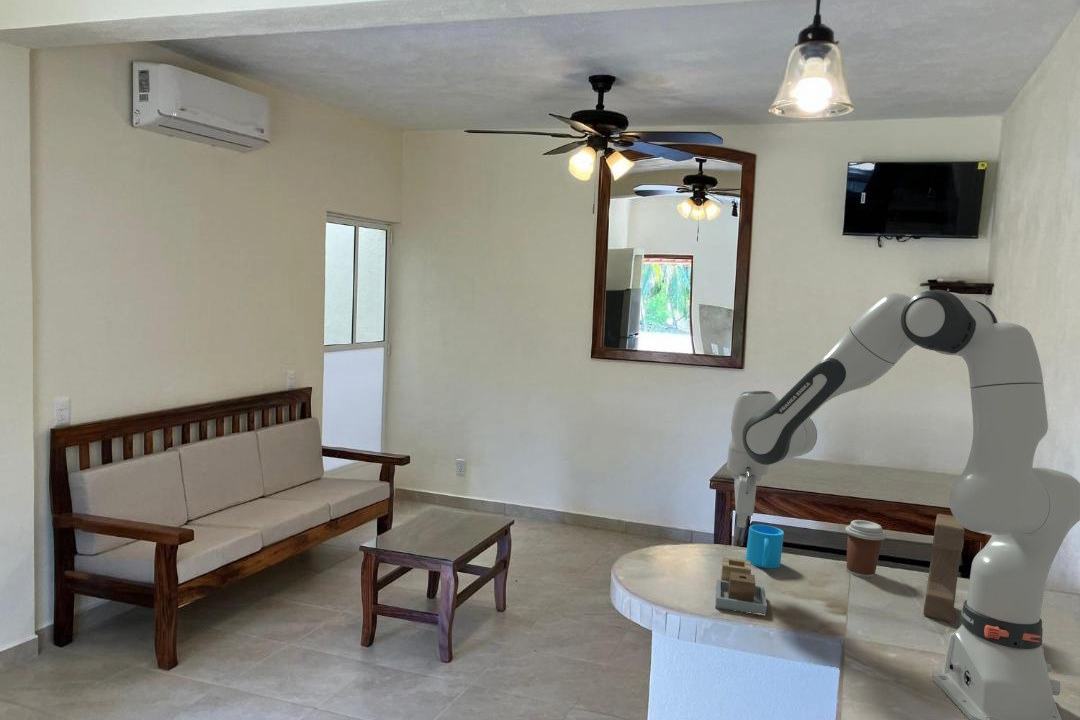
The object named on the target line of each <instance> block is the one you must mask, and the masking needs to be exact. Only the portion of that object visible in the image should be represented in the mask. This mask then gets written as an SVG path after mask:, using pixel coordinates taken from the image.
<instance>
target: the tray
mask: <svg viewBox="0 0 1080 720" xmlns="http://www.w3.org/2000/svg"><path fill="white" fill-rule="evenodd" d="M728 590H729V581H723V580H721V579H717V580H716V586H715V605H714V607H715V609H717V610H718V609H719V610H723V609H726V610H725V611H729V610H736V611H743V612H751V613H761V614H766V615H767V607H768V603H767V596H766V590H765V586H761V585H755V592H754V601H753V602H748V601H742V600H735V599H729V598H728Z"/></svg>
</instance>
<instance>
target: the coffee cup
mask: <svg viewBox="0 0 1080 720" xmlns="http://www.w3.org/2000/svg"><path fill="white" fill-rule="evenodd" d="M844 529H845V530H844V531H845V532H846V534H847V544H846V546H847V547H846V549H847V550H846V568H845V569H846V572H847V573H849V574H850V575H853V576H856V577H860V578H874V577H875V575H876V569H877V565H878V560H879V556H880V551H881V549H882V543H883V540H885V539H887V537H886V536H887V535H886V533H885V532H884V530H883V527H882V526H881V525H880V524H878V523H877V522H874V521H869V520H863V519H862V520H861V519H855V520H851V522H850V524H849V525H847V526H845V528H844Z"/></svg>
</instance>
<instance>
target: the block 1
mask: <svg viewBox="0 0 1080 720" xmlns="http://www.w3.org/2000/svg"><path fill="white" fill-rule="evenodd" d="M751 565H752V564H751V563H750V561H746V559H744V560H743V559H738V558H730V557H725V556H723V557H722V563H721V575H720V580H723V581H730V572H738V573H744V574H751V575H752V566H751Z"/></svg>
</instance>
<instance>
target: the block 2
mask: <svg viewBox="0 0 1080 720" xmlns="http://www.w3.org/2000/svg"><path fill="white" fill-rule="evenodd" d="M755 575H756V574H752V573H751V574H744V573H738V572H730V581H729V590H728V598H729V599H735V600H742V601H748V602H753V601H754V592H755V586H756V576H755Z"/></svg>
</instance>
